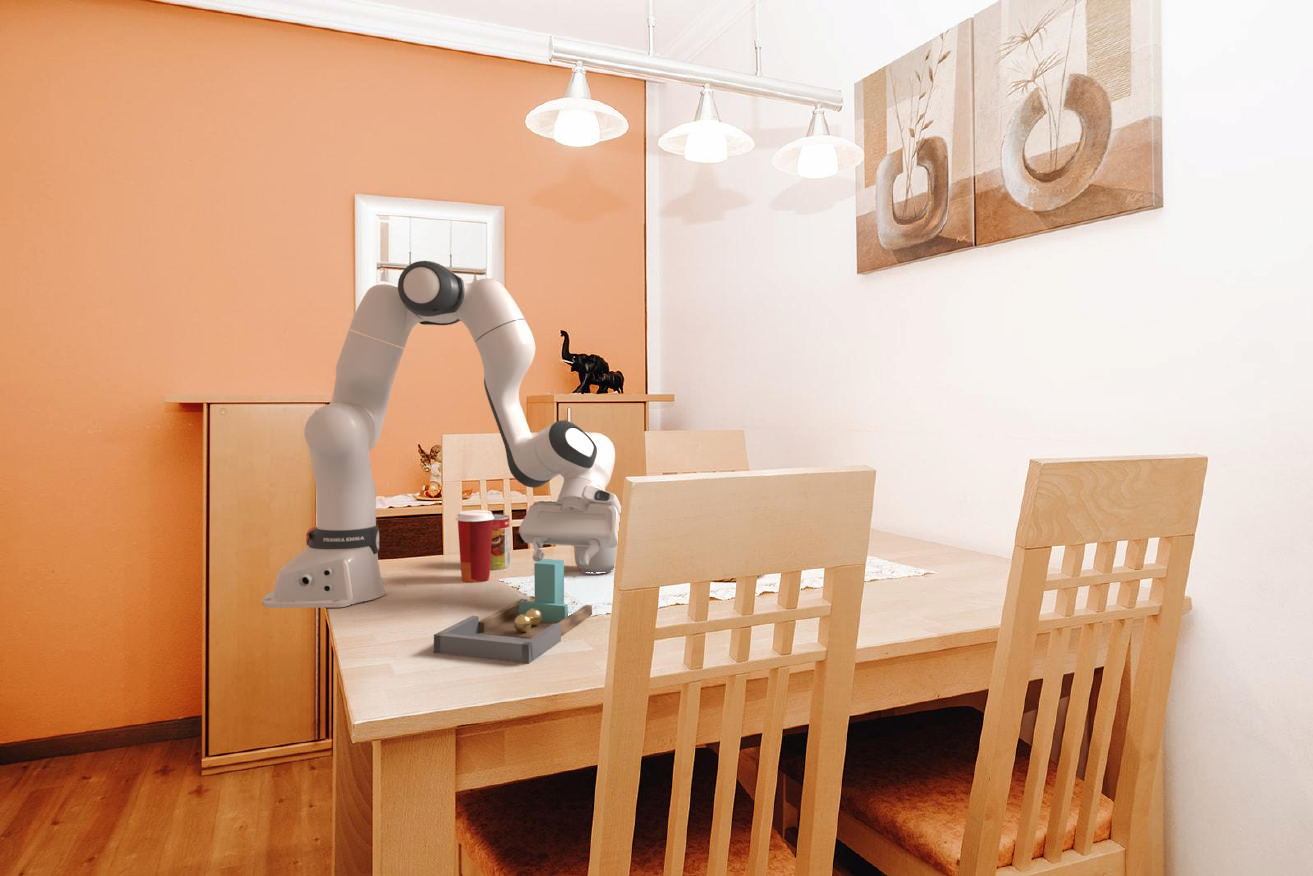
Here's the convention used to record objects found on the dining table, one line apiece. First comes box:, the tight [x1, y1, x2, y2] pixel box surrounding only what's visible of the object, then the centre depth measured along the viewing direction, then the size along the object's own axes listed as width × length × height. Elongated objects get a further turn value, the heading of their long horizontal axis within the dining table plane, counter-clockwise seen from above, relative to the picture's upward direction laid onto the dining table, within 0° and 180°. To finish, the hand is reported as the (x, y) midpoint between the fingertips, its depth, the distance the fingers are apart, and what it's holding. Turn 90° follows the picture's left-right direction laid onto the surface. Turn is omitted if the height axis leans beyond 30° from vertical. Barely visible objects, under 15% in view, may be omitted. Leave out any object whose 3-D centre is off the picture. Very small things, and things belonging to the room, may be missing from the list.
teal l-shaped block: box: [519, 558, 569, 622], centre depth 141 cm, size 5×9×10 cm, turn 73°
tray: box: [433, 615, 562, 665], centre depth 124 cm, size 12×16×3 cm
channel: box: [479, 599, 593, 639], centre depth 136 cm, size 17×14×2 cm
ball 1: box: [514, 614, 532, 632], centre depth 131 cm, size 3×3×3 cm
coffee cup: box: [455, 509, 494, 583], centre depth 171 cm, size 8×8×15 cm
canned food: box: [490, 514, 511, 571], centre depth 185 cm, size 8×8×12 cm
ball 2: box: [525, 608, 542, 626], centre depth 135 cm, size 3×3×3 cm
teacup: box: [573, 546, 616, 573], centre depth 181 cm, size 14×11×8 cm
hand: (559, 561), depth 145 cm, fingers open, 8 cm apart
